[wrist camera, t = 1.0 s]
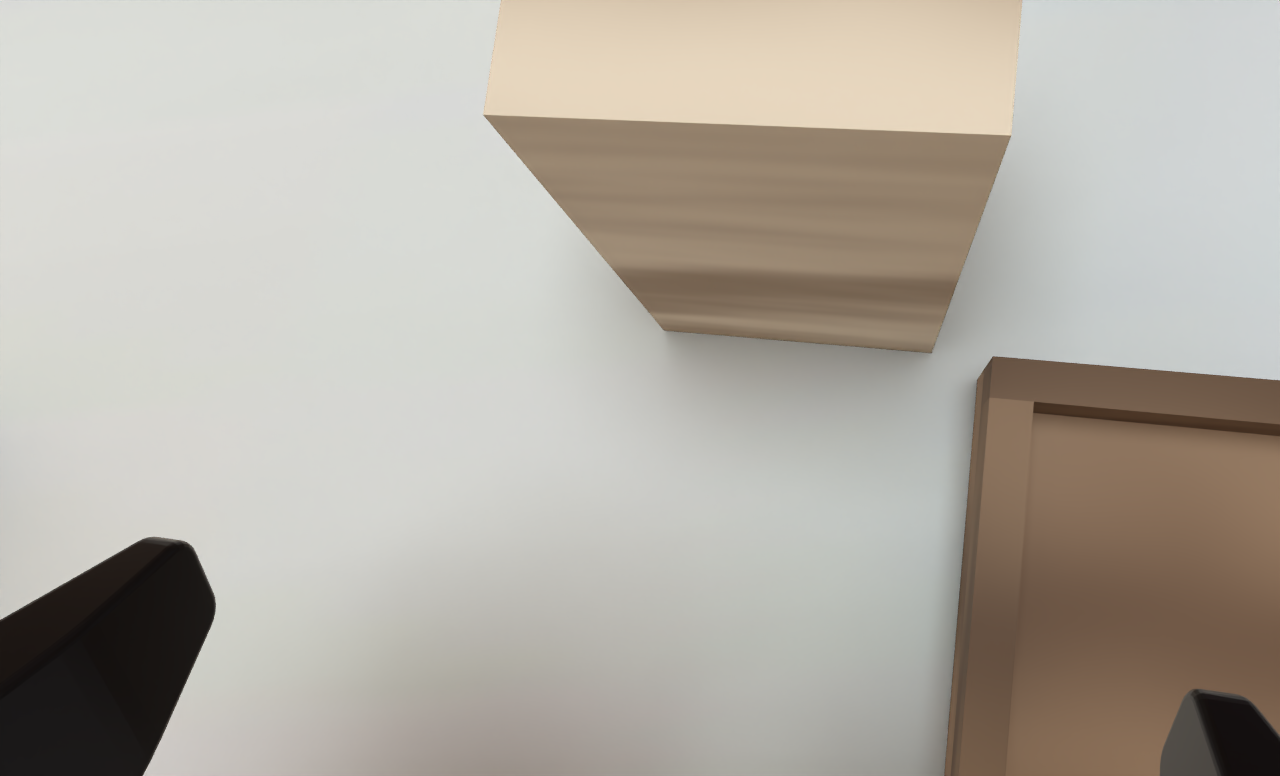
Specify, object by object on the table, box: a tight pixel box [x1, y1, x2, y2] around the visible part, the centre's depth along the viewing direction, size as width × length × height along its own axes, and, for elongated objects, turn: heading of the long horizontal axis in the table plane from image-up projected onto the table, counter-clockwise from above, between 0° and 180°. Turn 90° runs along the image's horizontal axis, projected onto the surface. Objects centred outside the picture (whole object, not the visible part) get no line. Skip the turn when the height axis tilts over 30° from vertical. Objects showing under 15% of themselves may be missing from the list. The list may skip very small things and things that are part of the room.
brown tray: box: [944, 356, 1280, 776], centre depth 19 cm, size 11×11×3 cm
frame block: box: [483, 0, 1022, 353], centre depth 18 cm, size 5×6×12 cm
